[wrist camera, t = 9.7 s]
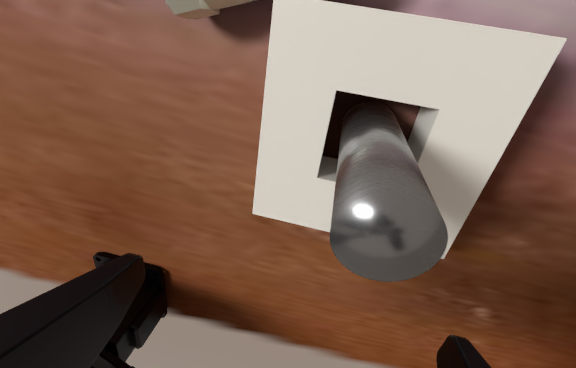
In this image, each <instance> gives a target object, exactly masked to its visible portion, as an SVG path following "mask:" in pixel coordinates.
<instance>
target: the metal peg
mask: <svg viewBox="0 0 576 368" xmlns="http://www.w3.org/2000/svg"><path fill="white" fill-rule="evenodd" d="M447 242H448V232H447V227H446V224H445V222H444V220H443V218H442V216H441V213H440V211H439V209H438V207H437V205H436V203H435V201H434V198H433V196H432V194H431V192H430V190H429V188H428V186H427V183H426V181H425V179H424V177H423V175H422V173H421V171H420V168H419V166H418V164H417V162H416V160H415V158H414V156H413V154H412V151H411V149H410V147H409V145H408V143H407V141H406V139H405V136H404V134H403V132H402V130H401V128H400V126H399V124H398V121H397V119H396V117H395V115H394V113H393V112H392V110H391V109H390V108H389V107H388V106H386V105H385V104H383V103H380V102H377V101H365V102H362V103H359V104H357V105H355V106H354V107H352V108H351V109H350V110H349V111H348V112H347V114H346V115H345V117H344V119H343V122H342V129H341V138H340V147H339V156H338V165H337V174H336V183H335V192H334V201H333V211H332V220H331V229H330V243H331V247H332V250H333V252H334V254H335V256H336V257H337V259H338V260H339V261H340V262H341V264H342V265H344V266H345V267H346V268H347V269H349V270H350V271H352V272H353V273H355V274H357V275H359V276H362V277H364V278H368V279H371V280H376V281H387V282H392V281H401V280H407V279H410V278H413V277H416V276H419V275H421V274H423V273H425V272H426V271H428V270H429V269H431V268H432V267H433V266H434V265H435V264H436V263H437V262H438V261H439V260H440V258H441V257H442V255H443V254H444V252H445V249H446V246H447Z"/></svg>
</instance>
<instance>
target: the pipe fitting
mask: <svg viewBox="0 0 576 368" xmlns="http://www.w3.org/2000/svg"><path fill="white" fill-rule="evenodd" d="M252 1H256V0H165V2H166V3H167V5H168V6H169V8H170V9H171V10H172V12H173V13H174V14H175V15H177V16H179V17H182V18H188V19H200V18H204V17H209V16H213V15H218V14H219V13H220V9H222V8H226V7H231V6H235V5H239V4H243V3H248V2H252Z"/></svg>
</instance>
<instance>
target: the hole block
mask: <svg viewBox="0 0 576 368" xmlns="http://www.w3.org/2000/svg"><path fill="white" fill-rule="evenodd" d="M566 40H567V38H561V37H554V36H548V35H542V34H535V33H529V32H522V31H516V30H510V29H503V28H497V27H490V26H484V25H478V24H471V23H465V22H458V21H452V20H446V19H439V18H433V17H426V16H420V15H413V14H407V13H401V12H394V11H388V10H381V9H375V8H369V7H362V6H356V5H349V4H343V3H337V2H330V1H324V0H273V9H272V19H271V29H270V40H269V50H268V60H267V70H266V80H265V91H264V101H263V111H262V121H261V131H260V142H259V152H258V162H257V172H256V182H255V193H254V203H253V213H252V214H255V215H260V216H264V217H268V218H272V219H276V220H281V221H285V222H289V223H293V224H298V225H302V226H306V227H310V228H314V229H319V230H323V231H327V232H330V229H331V220H332V211H333V201H334V192H335V183H336V174H337V165H338V159H335V158H331V157H326V156H322V155H323V150H324V146H325V141H326V136H327V132H328V127H329V123H330V118H331V114H332V109H333V105H334V100H335V95H336V91H343V92H348V93H354V94H359V95H364V96H370V97H375V98H380V99H386V100H391V101H396V102H402V103H407V104H412V105H418V106H421V107H420V109H419V112H418V115H417V117H416V120H415V123H414V126H413V128H412V131H411V134H410V136H409V139H408V142H407V143H408V145H409V147H410V149H411V151H412V154H413V156H414V158H415V160H416V162H417V164H418V166H419V168H420V171H421V173H422V175H423V177H424V179H425V181H426V183H427V186H428V188H429V190H430V192H431V194H432V196H433V198H434V201H435V203H436V205H437V207H438V209H439V211H440V213H441V216H442V218H443V220H444V222H445V224H446V227H447V232H448V242H447V246H446V249H445V252H444V254H443V255H442V257H441V259H444V258H445V256H446V254H447V252H448V251H449V249H450V247H451V245H452V243H453V242H454V240H455V238H456V236H457V234H458V233H459V231H460V229H461V227H462V226H463V224H464V222H465V220H466V218H467V217H468V215H469V213H470V211H471V209H472V208H473V206H474V204H475V202H476V201H477V199H478V197H479V195H480V193H481V192H482V190H483V188H484V186H485V185H486V183H487V181H488V179H489V177H490V176H491V174H492V172H493V170H494V168H495V167H496V165H497V163H498V161H499V160H500V158H501V156H502V154H503V152H504V151H505V149H506V147H507V145H508V143H509V142H510V140H511V138H512V136H513V135H514V133H515V131H516V129H517V127H518V126H519V124H520V122H521V120H522V118H523V117H524V115H525V113H526V111H527V110H528V108H529V106H530V104H531V102H532V101H533V99H534V97H535V95H536V94H537V92H538V90H539V88H540V86H541V85H542V83H543V81H544V79H545V77H546V76H547V74H548V72H549V70H550V69H551V67H552V65H553V63H554V61H555V60H556V58H557V56H558V54H559V52H560V51H561V49H562V47H563V45H564V44H565V42H566Z"/></svg>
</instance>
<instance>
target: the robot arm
mask: <svg viewBox="0 0 576 368" xmlns="http://www.w3.org/2000/svg"><path fill="white" fill-rule="evenodd" d="M93 259H94V263H95V266H96V269H93V270H91V271H89V272H87V273H85V274H83V275H81V276H79V277H77V278H75V279H73V280H71V281H68V282H66V283H64V284H62V285H60V286H58V287H56V288H54V289H52V290H50V291H48V292H46V293H43V294H41V295H39V296H37V297H35V298H33V299H31V300H29V301H27V302H25V303H23V304H21V305H19V306H16V307H14V308H12V309H10V310H8V311H6V312H4V313H2V314H0V368H135V367H133V366H132V367H131V366H130V365H128V364H127V363H125V362H126V360H127V358H128V357H129V356H130V354H131V353H132V351H133V350H134V348H137V349H139V348H140V347H142V345H143V344H144V343H145V341H146V340H147V338H148V337H149V335H150V334H151V332H152V331H153V329H154V328H155V326H156V325H157V323H158V322H159V320H160V318H163V317H165V316H166V314H167V301H166V292H165V286H164V277H163V271H162V270H161V269H160V268H158V267H154V266H151V265H147V264H144V261H143V258H142V256H140V255H136V254H132V253H127V254H125V255H123V256H120V257H117V256H113V255H109V254H106V253H102V252H97V253H96V254H95V255H94V256H93ZM437 368H491V367H490V366H489V364H488V363H487V362H486V361H485V360H484V358H483V357H482V356H481V355H480V354H479V352H478V351H477V350H476V349H475V348H474V346H473V345H472V344H471V343H470V342H469V341H468V340H467V339H466V338H463V337H459V336H456V335H449V336H448V337H447V338H446V340H445V341H444V343H443V344H442V346H441V347H440V349H439V350H438V353H437Z"/></svg>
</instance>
